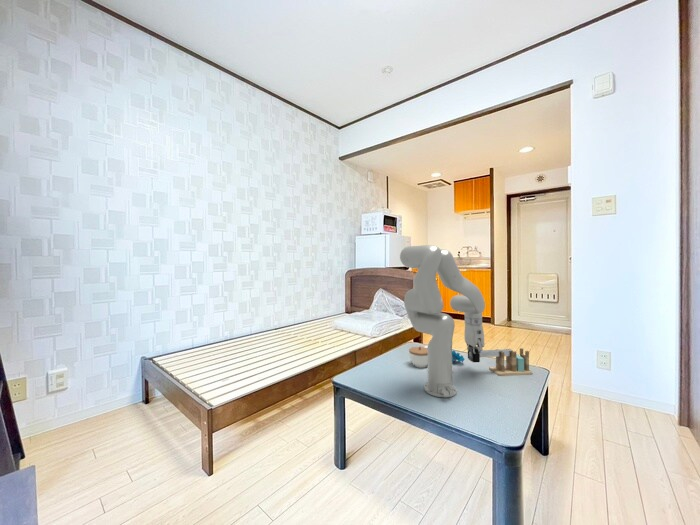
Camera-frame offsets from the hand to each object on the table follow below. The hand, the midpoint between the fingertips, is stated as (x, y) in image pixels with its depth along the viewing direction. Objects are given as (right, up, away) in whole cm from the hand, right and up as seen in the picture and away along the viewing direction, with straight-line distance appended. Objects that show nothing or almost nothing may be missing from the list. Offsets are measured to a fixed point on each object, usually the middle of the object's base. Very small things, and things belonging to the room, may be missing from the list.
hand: (473, 360), depth 133 cm
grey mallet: (+8, 0, +1) cm, 9 cm away
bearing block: (+18, -6, +1) cm, 19 cm away
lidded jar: (-22, -7, +11) cm, 26 cm away
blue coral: (-4, -6, +14) cm, 16 cm away
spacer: (+22, -2, +2) cm, 22 cm away
